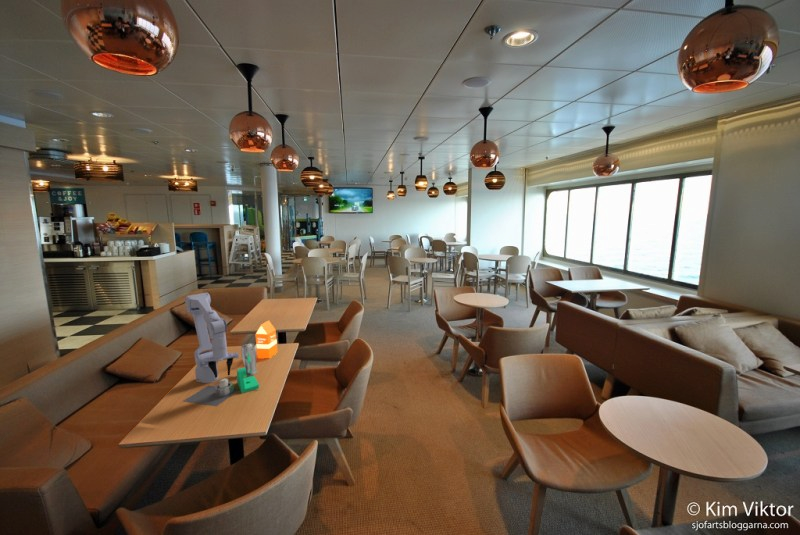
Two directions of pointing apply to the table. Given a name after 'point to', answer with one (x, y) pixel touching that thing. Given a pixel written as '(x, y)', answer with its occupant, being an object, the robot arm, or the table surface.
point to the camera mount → (246, 381)
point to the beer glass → (249, 358)
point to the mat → (208, 397)
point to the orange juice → (266, 340)
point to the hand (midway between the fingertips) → (222, 375)
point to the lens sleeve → (224, 390)
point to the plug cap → (223, 383)
